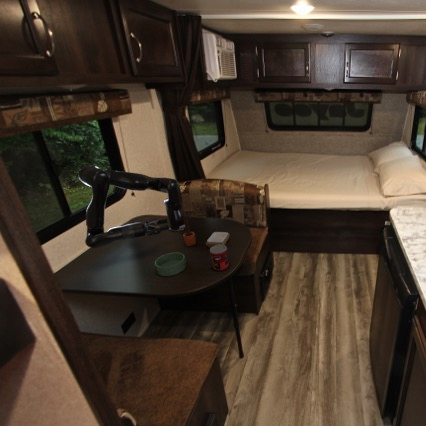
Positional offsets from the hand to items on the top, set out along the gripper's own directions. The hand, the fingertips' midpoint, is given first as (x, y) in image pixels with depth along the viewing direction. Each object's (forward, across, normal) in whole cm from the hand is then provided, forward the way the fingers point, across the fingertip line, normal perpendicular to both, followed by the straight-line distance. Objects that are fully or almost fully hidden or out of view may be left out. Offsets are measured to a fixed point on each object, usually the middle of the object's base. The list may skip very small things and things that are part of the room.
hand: (168, 223), depth 158 cm
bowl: (-3, -20, +15) cm, 25 cm away
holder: (+9, 0, +15) cm, 18 cm away
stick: (+9, 0, +15) cm, 17 cm away
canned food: (+19, -31, +16) cm, 40 cm away
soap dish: (+23, -8, +16) cm, 29 cm away
